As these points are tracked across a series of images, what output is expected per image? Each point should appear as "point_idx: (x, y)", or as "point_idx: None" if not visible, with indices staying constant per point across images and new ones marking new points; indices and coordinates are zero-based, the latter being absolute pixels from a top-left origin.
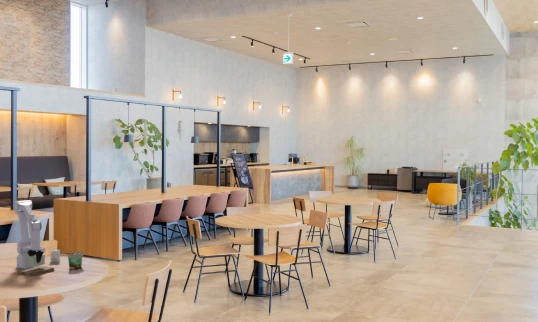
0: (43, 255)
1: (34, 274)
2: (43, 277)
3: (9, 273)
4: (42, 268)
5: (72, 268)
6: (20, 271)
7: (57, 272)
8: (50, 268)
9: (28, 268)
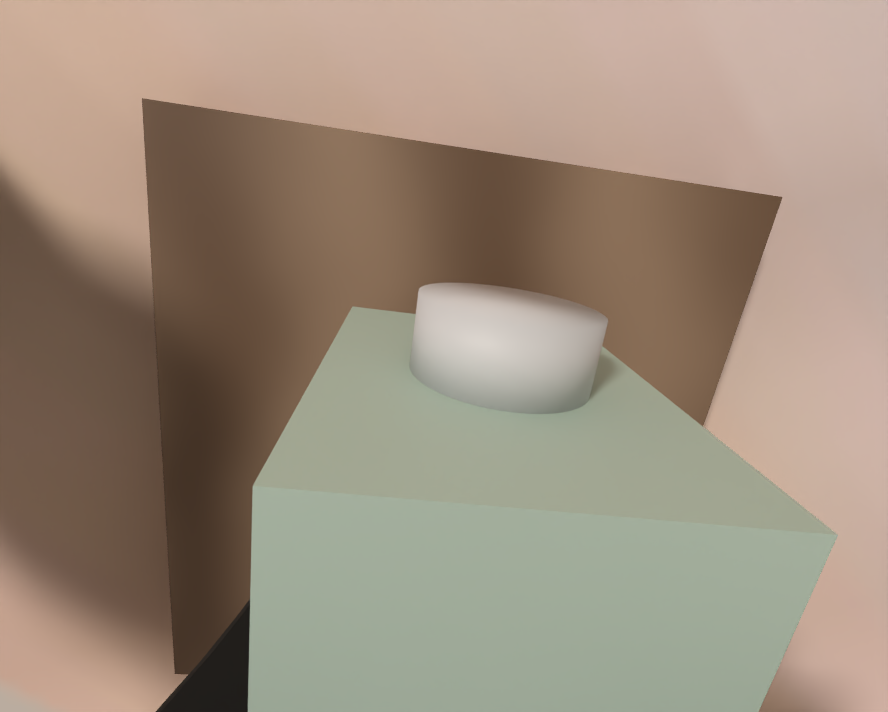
0: (774, 607)
1: None
2: (793, 637)
3: (24, 629)
4: None
5: None
6: None
7: (879, 307)
8: (739, 313)
9: (207, 471)
